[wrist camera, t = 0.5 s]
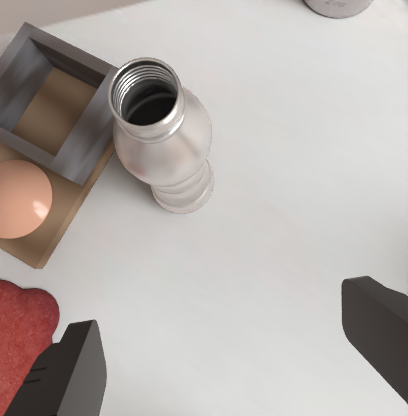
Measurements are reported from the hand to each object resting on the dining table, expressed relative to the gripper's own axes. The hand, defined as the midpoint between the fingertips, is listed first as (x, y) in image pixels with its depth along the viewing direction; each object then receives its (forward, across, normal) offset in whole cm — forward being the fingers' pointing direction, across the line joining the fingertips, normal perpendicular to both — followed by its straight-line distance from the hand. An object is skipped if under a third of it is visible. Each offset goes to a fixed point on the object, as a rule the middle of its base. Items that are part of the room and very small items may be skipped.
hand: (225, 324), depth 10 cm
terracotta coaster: (+27, +17, -2) cm, 32 cm away
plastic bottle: (+26, -1, -1) cm, 26 cm away
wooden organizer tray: (+29, +14, -5) cm, 33 cm away
